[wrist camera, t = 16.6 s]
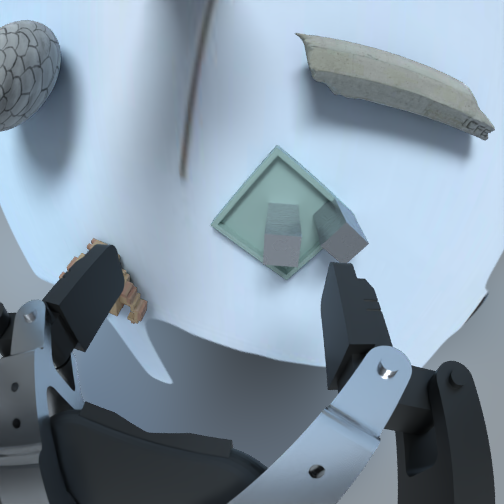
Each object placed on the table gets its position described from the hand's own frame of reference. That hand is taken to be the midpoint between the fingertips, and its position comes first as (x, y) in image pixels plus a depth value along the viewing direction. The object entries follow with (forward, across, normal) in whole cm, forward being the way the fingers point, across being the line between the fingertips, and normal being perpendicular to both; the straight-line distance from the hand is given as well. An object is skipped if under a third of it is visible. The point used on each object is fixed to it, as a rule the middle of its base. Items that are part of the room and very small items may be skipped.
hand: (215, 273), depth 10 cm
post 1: (+32, +3, -12) cm, 34 cm away
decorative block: (+32, +19, +11) cm, 39 cm away
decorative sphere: (+32, -41, +17) cm, 55 cm away
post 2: (+32, +11, -11) cm, 36 cm away
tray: (+32, +3, -12) cm, 35 cm away
